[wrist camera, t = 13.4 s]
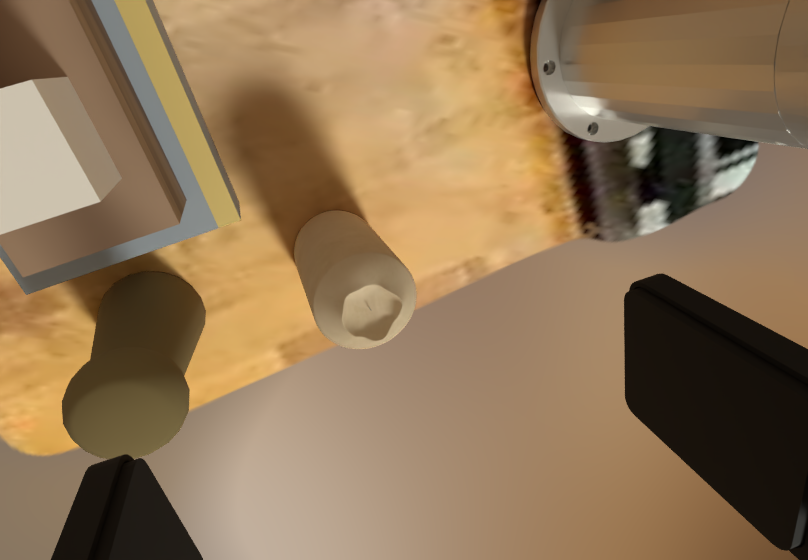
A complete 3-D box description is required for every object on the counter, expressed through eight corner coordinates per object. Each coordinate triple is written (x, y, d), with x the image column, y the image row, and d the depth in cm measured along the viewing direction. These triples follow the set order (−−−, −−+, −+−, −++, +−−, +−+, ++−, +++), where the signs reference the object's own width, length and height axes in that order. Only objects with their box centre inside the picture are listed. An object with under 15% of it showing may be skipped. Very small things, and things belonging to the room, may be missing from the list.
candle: (365, 199, 33) (415, 247, 24) (383, 274, 36) (434, 343, 27) (282, 222, 32) (303, 282, 23) (306, 298, 34) (333, 378, 26)
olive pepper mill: (77, 295, 30) (6, 404, 20) (178, 256, 31) (155, 343, 21) (131, 373, 33) (91, 503, 23) (222, 335, 34) (220, 444, 24)
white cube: (67, 76, 19) (31, 79, 15) (121, 178, 21) (100, 201, 17) (-47, 109, 18) (-112, 120, 15) (19, 211, 20) (-25, 242, 17)
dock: (-4, -365, 20) (-54, -457, 16) (239, 202, 31) (240, 220, 27) (-330, -320, 18) (-465, -413, 15) (50, 266, 29) (25, 295, 25)
